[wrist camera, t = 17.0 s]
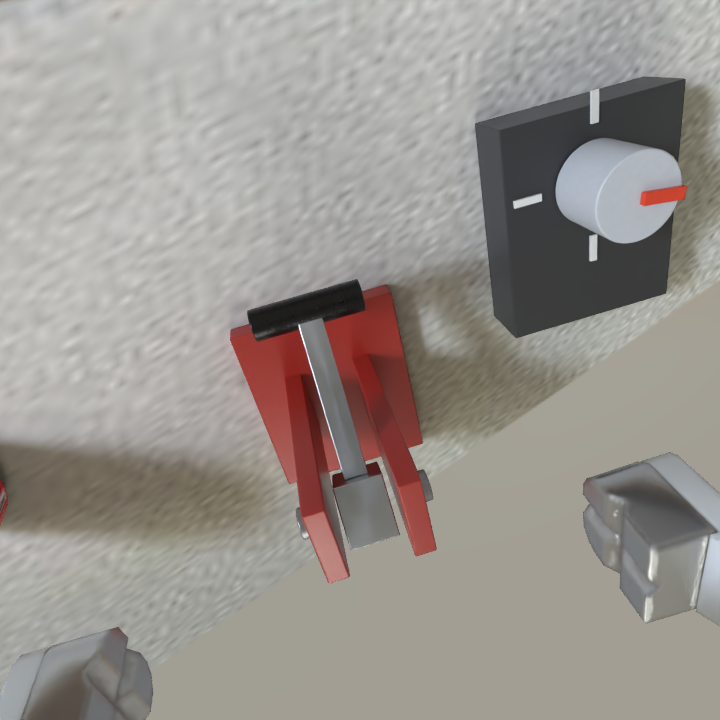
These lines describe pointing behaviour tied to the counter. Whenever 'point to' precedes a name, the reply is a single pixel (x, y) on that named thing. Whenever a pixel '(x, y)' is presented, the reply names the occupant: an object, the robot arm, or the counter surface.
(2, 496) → the soda can
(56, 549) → the counter surface
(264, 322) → the lever
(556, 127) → the console
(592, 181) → the dial
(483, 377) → the counter surface
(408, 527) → the red lever mount bracket
